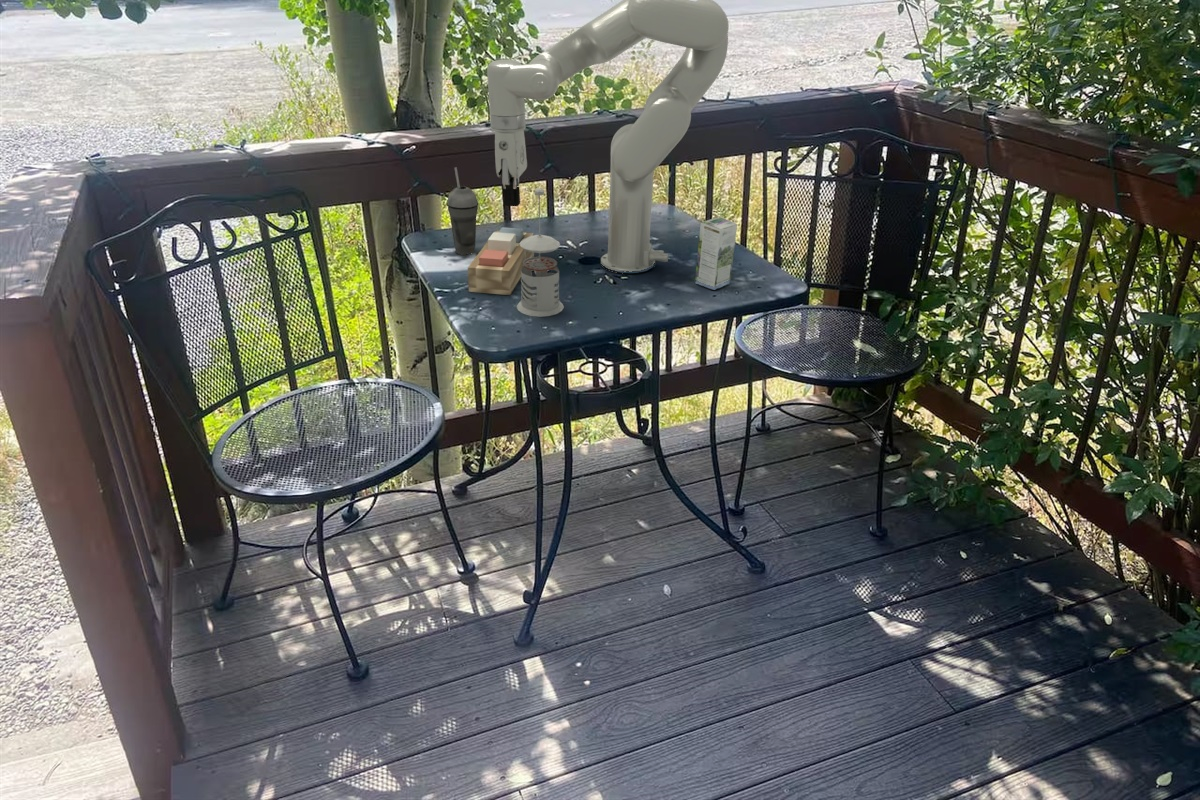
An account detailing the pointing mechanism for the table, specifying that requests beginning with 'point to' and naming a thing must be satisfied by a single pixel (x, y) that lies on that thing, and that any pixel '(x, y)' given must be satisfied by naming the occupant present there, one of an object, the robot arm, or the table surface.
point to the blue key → (515, 231)
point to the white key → (502, 242)
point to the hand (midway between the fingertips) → (512, 204)
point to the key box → (497, 272)
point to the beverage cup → (463, 217)
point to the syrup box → (715, 251)
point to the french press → (539, 275)
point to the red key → (493, 258)
